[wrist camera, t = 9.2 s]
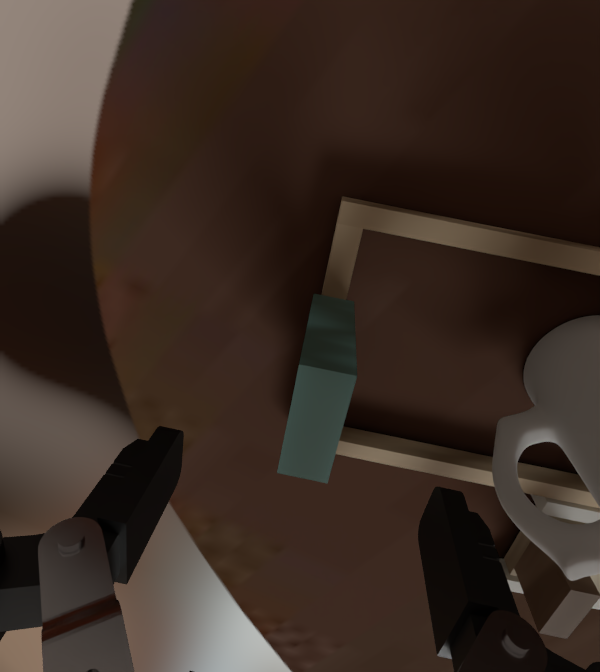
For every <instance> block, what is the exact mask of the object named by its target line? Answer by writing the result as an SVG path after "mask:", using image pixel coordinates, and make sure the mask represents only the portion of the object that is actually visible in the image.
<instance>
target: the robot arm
mask: <svg viewBox="0 0 600 672" xmlns="http://www.w3.org/2000/svg"><path fill="white" fill-rule="evenodd" d="M183 437H184V434H183V431H181V430H176V429H172V428H167V427H162V426H159V427H158V428H157V429H156V430H155V432H154V433H153V435H152V436H151V438H150V439H149V441H146V440H141V439H137V440H135V441H134V442H132V443H131V444H129V445H128V446H126V447H125V448H123V450H122V451H121V452H120V454H119V455H118V456H117V458H116V459H115V460H114V463H113V464H112V465H111V466H110V467H109V469H108V470H107V472H106V474H105V475H103V477H102V478H101V480H100V481H99V482H98V484H97V485H96V486H95V488H94V489H93V490H92V492H91V493H90V494H89V496H88V497H87V499H86V500H85V501H84V503H83V504H82V505H81V507H80V508H79V509H78V511H77V512H76V514H75V515H74V516H73V517H72V518H69V519H66V520H63V521H61V522H59V523H57V524H56V525H54V526H52V527H51V528H50V529H49V530H48V531H47V532H46V533H43V534H39V535H31V536H17V537H4V538H3V537H2V533H1V531H0V640H1V639H2V637H3V636H4V634H5V632H6V631H10V630H18V629H26V628H33V627H41V626H42V627H43V629H42V655H43V672H134V668H133V663H132V658H131V653H130V649H129V644H128V639H127V634H126V630H125V625H124V620H123V615H122V611H121V607H120V603H119V601H118V600H117V599H116V596H115V591H114V586H113V584H114V582H118V583H123V584H127V583H128V581H129V579H130V577H131V575H132V573H133V571H134V569H135V567H136V565H137V563H138V561H139V559H140V557H141V555H142V553H143V551H144V549H145V547H146V545H147V543H148V541H149V539H150V537H151V535H152V533H153V531H154V529H155V527H156V525H157V523H158V521H159V519H160V517H161V516H162V514H163V511H164V509H165V508H166V506H167V504H168V502H169V500H170V498H171V496H172V494H173V492H174V490H175V488H176V485H177V483H178V480H179V477H180V473H181V467H182V452H183ZM418 541H419V548H420V554H421V560H422V566H423V572H424V578H425V584H426V590H427V596H428V603H429V609H430V615H431V621H432V627H433V633H434V639H435V645H436V651H437V656H440V657H445V658H449V659H452V662H453V667H454V672H600V662H595V663H592V664H591V665H589V667H588V668H587V669H586V670H585V669H583V668H581V667H579V666H577V665H575V664H574V663H572V662H570V661H568V660H566V659H564V658H562V657H561V656H559V655H557V654H555V653H553V652H552V651H550V650H549V649H547V648H546V647H545V645H544V643H543V641H542V639H541V637H540V636H539V634H538V633H537V632H536V630H535V629H534V628H533V627H532V626H531V625H530V624H529V623H528V622H527V621H526V620H524V619H523V618H521V617H520V615H519V613H518V610H517V607H516V604H515V601H514V598H513V595H512V593H511V590H510V587H509V584H508V581H507V578H506V575H505V573H504V570H503V567H502V564H501V562H500V561H499V560H500V558H499V555H498V553H497V550H496V549H495V544H494V541H493V538H492V535H491V532H490V530H489V528H488V527H487V525H486V524H485V523H484V521H483V520H482V519H481V517H480V516H479V515H478V513H475V512H470V511H469V510H468V507H467V504H466V501H465V497H464V495H463V493H462V492H460V491H456V490H451V489H446V488H442V487H435V488H434V490H433V492H432V495H431V497H430V499H429V501H428V504H427V506H426V508H425V511H424V513H423V515H422V518H421V520H420V524H419V530H418ZM190 672H192V671H190Z"/></svg>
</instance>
